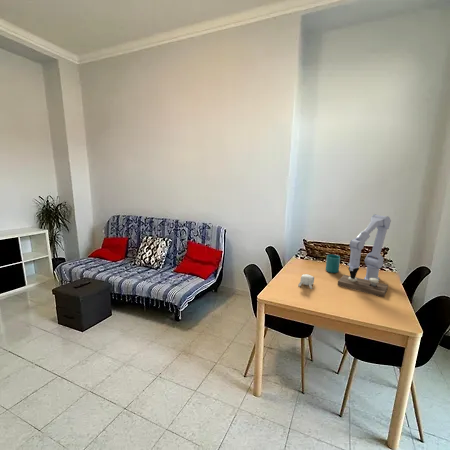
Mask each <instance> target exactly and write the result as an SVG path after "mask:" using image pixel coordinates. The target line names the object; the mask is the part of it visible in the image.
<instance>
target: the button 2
mask: <svg viewBox="0 0 450 450" xmlns="http://www.w3.org/2000/svg"><path fill="white" fill-rule="evenodd" d="M369 281H370V282H371V286H373V287H376V283H380V282H379V281H380V279H379V280H378V279H376V278H370V279H369Z"/></svg>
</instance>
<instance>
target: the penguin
mask: <svg viewBox="0 0 450 450" xmlns="http://www.w3.org/2000/svg"><path fill="white" fill-rule="evenodd" d="M314 283H315V276H313V275H310V274H306V273H305V274H301V276H300V282H299V283H298V287H301V286H302V285H304V286H309V289H310V290H312V289H313V286H312V285H314Z"/></svg>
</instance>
